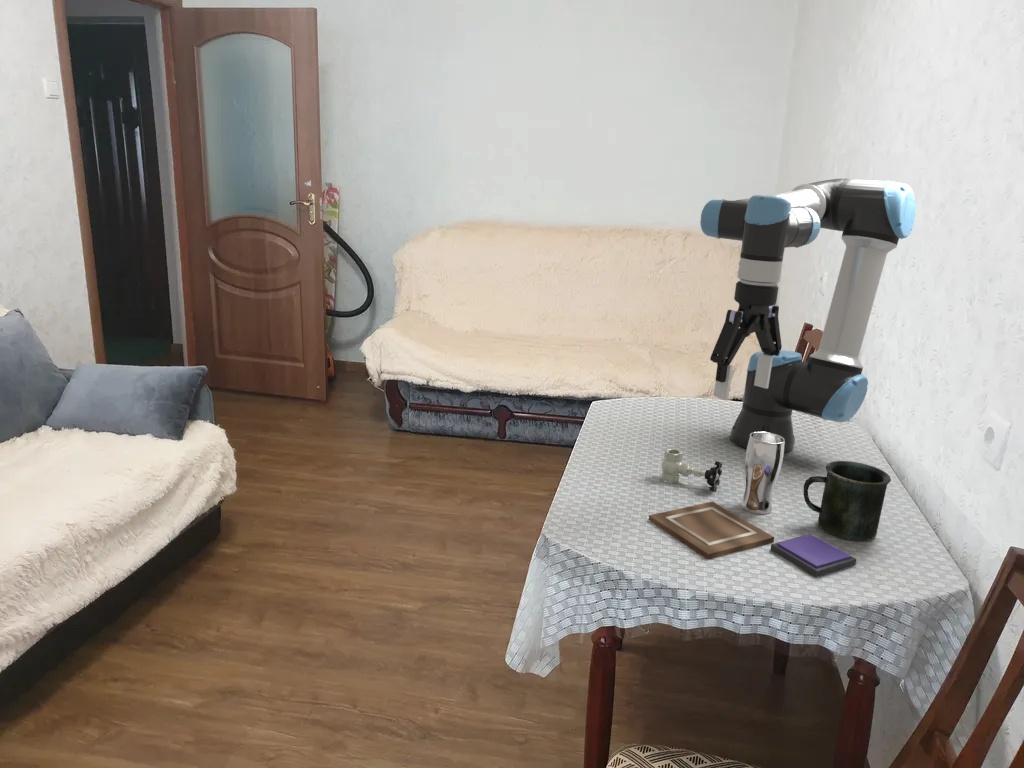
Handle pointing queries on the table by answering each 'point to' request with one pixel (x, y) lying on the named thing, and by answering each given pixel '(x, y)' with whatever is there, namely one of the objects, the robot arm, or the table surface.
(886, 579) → the table surface
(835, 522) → the mug
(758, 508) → the beer glass
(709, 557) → the board
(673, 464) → the valve
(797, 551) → the ink pad
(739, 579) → the table surface
